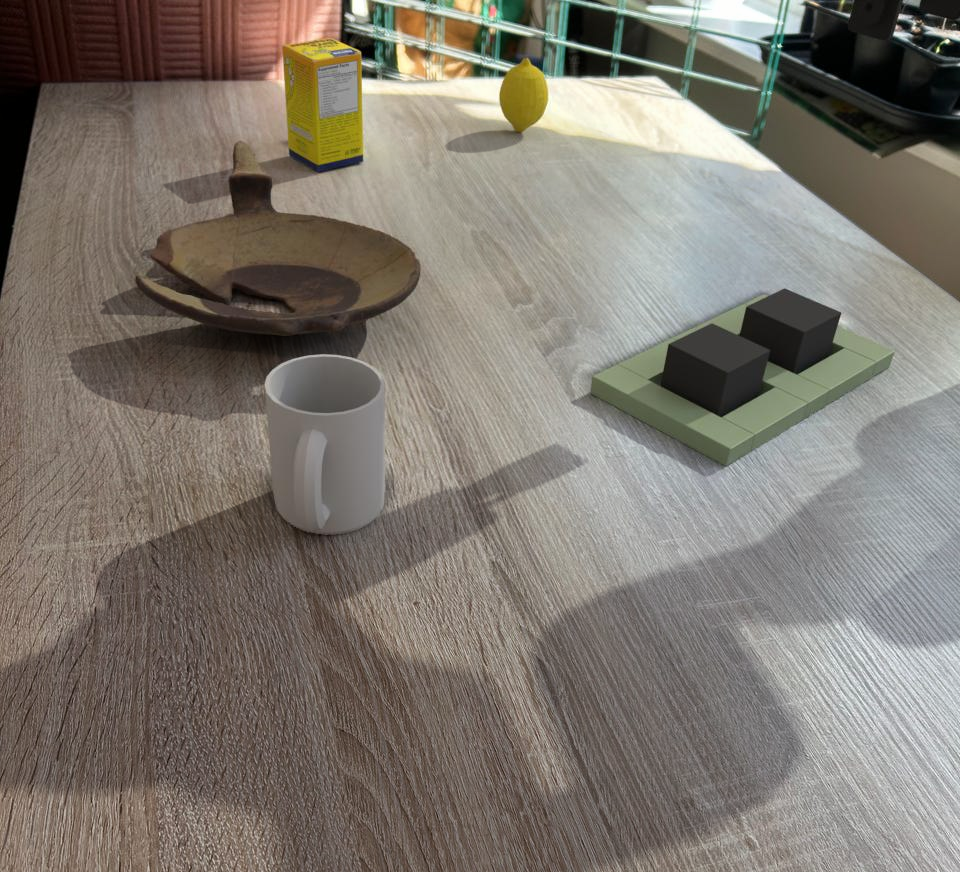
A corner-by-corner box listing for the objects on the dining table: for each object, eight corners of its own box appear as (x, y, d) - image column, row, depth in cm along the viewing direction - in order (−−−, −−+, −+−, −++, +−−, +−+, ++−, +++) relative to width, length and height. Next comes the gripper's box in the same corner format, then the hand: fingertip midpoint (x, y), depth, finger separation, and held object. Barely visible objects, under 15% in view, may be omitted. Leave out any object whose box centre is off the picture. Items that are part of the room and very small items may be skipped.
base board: (760, 309, 98) (764, 293, 97) (889, 367, 91) (895, 350, 90) (589, 393, 85) (592, 375, 84) (725, 466, 79) (730, 449, 78)
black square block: (771, 338, 94) (784, 287, 91) (826, 363, 91) (842, 312, 88) (733, 357, 91) (745, 306, 88) (789, 384, 88) (804, 332, 85)
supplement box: (333, 145, 121) (329, 35, 114) (364, 163, 118) (363, 51, 110) (286, 155, 118) (280, 43, 111) (317, 173, 115) (313, 59, 107)
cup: (393, 479, 75) (394, 361, 69) (366, 571, 68) (364, 447, 62) (289, 467, 75) (280, 348, 69) (250, 557, 68) (237, 433, 62)
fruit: (519, 143, 125) (526, 67, 120) (487, 129, 128) (491, 54, 123) (554, 134, 128) (562, 59, 123) (521, 121, 131) (527, 47, 125)
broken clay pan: (107, 378, 82) (89, 280, 77) (199, 219, 104) (190, 135, 99) (405, 400, 83) (406, 304, 77) (434, 237, 105) (437, 154, 99)
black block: (700, 374, 88) (711, 322, 85) (757, 402, 86) (770, 349, 82) (657, 396, 85) (667, 343, 82) (714, 426, 83) (727, 372, 79)
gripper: (989, -291, 59) (889, 58, 70) (1117, -287, 68) (1010, 20, 80) (867, -304, 63) (791, 29, 74) (1004, -298, 72) (918, -3, 84)
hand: (905, 24), depth 77 cm, fingers open, 9 cm apart
